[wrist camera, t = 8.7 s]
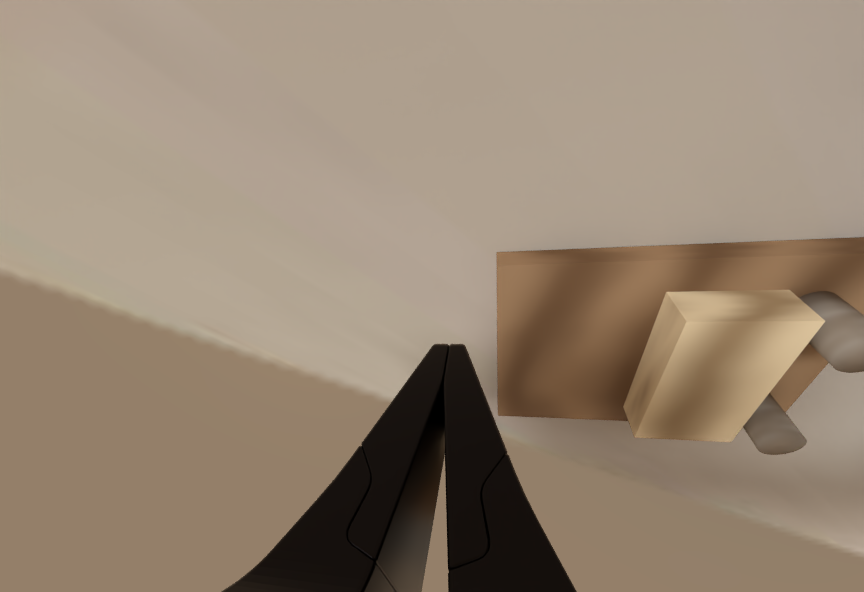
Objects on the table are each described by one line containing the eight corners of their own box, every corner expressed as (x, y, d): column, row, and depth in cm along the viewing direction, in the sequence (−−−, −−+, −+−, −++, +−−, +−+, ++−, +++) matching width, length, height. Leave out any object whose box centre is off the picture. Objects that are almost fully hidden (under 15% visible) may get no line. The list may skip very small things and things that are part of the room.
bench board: (896, 235, 17) (1014, 296, 13) (760, 408, 26) (807, 475, 22) (496, 252, 21) (499, 304, 17) (497, 400, 30) (499, 456, 26)
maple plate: (789, 289, 18) (825, 320, 16) (711, 409, 25) (730, 442, 23) (666, 291, 19) (686, 321, 17) (623, 406, 26) (634, 437, 24)
